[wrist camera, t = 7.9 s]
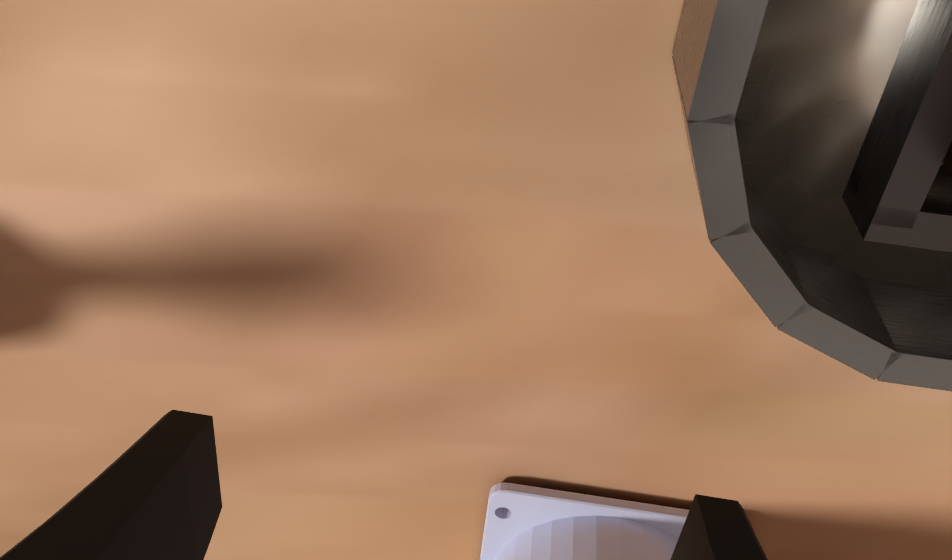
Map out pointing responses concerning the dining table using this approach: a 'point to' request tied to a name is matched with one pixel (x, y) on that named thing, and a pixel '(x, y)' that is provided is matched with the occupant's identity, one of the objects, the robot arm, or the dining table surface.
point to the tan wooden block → (948, 158)
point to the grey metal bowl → (830, 170)
